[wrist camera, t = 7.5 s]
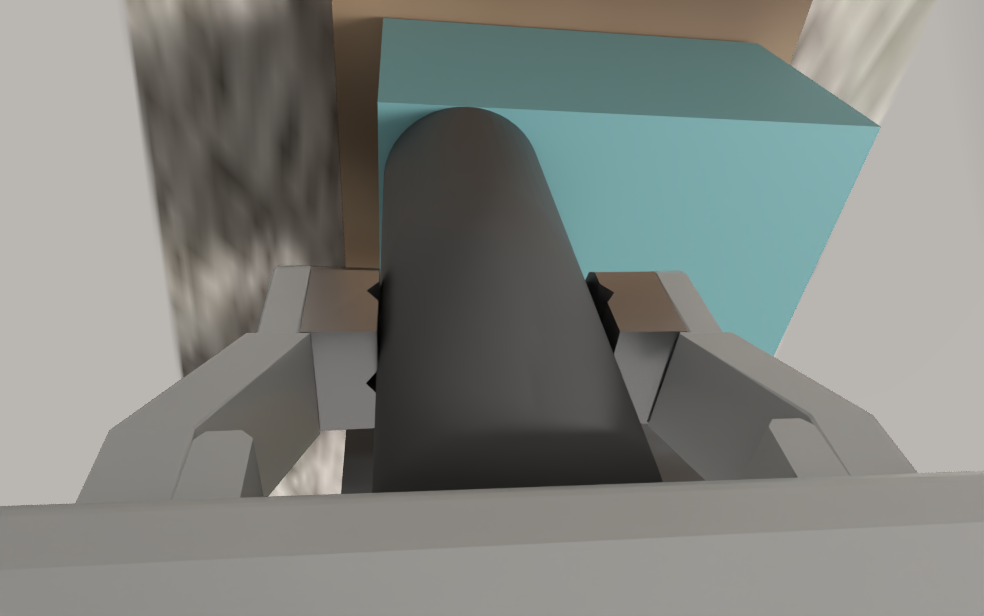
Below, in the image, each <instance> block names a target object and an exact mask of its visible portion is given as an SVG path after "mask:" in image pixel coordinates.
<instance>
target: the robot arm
mask: <svg viewBox="0 0 984 616" xmlns="http://www.w3.org/2000/svg"><path fill="white" fill-rule="evenodd" d="M585 281H586V284H587V287H588V289H589V292H590V294H591V297H592V299H593V302H594V305H595V307H596V310H597V312H598V315H599V317H600V320H601V323H602V325H603V328H604V330H605V333H606V335H607V338H608V341H609V343H610V346H611V348H612V351H613V353H614V356H615V359H616V361H617V364H618V366H619V369H620V371H621V374H622V377H623V379H624V382H625V384H626V387H627V389H628V392H629V395H630V397H631V400H632V402H633V405H634V407H635V410H636V413H637V415H638V418H639V420H640V423H646V424H648V426H649V427H650V428H651V429H652V430H653V431H654V432H655V433H656V434H657V435H658V436H659V437H660V438H661V439H662V440H663V441H664V442H666V443H667V444H668V445H669V446H670V447H671V448H672V449H673V450H674V451H675V452H676V453H677V454H678V455H679V456H680V457H681V458H682V459H683V460H684V461H685V462H687V463H688V464H689V465H690V466H691V467H692V468H693V469H694V470H695V471H696V472H697V473H698V474H699V475H700V476H701V477H702V478H703V479H704V480H705V481H686V482H657V483H628V484H601V485H574V486H547V487H521V488H494V489H467V490H440V491H413V492H385V493H357V494H329V495H301V496H273V497H268V496H269V495H270V493H271V492H272V491H273V490H274V489H275V487H276V486H277V485H278V484H279V483H280V481H281V480H282V479H283V478H284V477H285V475H286V474H287V473H288V472H289V470H290V469H291V468H292V467H293V466H294V464H295V463H296V462H297V461H298V460H299V458H300V457H301V456H302V455H303V454H304V452H305V451H306V450H307V449H308V447H309V446H310V445H311V444H312V443H313V441H314V440H315V439H316V438H317V437H318V435H319V434H320V432H319V431H325V430H345V429H366V428H374V427H375V400H376V373H377V366H378V346H379V314H380V268H359V267H328V266H313V267H311V266H280V265H278V266H277V267H276V268H275V269H274V270H273V274H272V278H271V281H270V285H269V289H268V292H267V296H266V300H265V303H264V307H263V311H262V315H261V318H260V322H259V326H258V329H257V333H246V334H244V335H243V336H241V337H240V338H239V339H237V340H236V341H234V342H233V343H231V344H230V345H229V346H227V347H226V348H224V349H223V350H222V351H220V352H219V353H217V354H216V355H215V356H213V357H212V358H210V359H209V360H208V361H206V362H205V363H203V364H202V365H201V366H199V367H198V368H196V369H195V370H194V371H192V372H191V373H189V374H188V375H187V376H185V377H184V378H182V379H181V380H180V381H178V382H177V383H175V384H174V385H173V386H172V387H170V388H168V389H167V390H165V391H164V392H163V393H161V394H160V395H159V396H157V397H156V398H154V399H153V400H151V401H150V402H149V403H147V404H146V405H144V406H143V407H142V408H140V409H139V410H138V411H136V412H135V413H133V414H132V415H130V416H129V417H128V418H126V419H125V420H123V421H122V422H121V423H119V424H118V425H116V426H115V427H114V428H112V429H111V430H109V432H108V435H107V437H106V439H105V441H104V443H103V445H102V448H101V450H100V452H99V454H98V456H97V458H96V460H95V463H94V465H93V467H92V469H91V471H90V473H89V475H88V477H87V480H86V482H85V484H84V486H83V489H82V490H81V492H80V495H79V497H78V499H77V501H76V503H75V504H49V505H21V506H0V616H984V471H964V472H936V473H917V471H916V470H915V469H914V467H913V466H912V465H911V464H910V462H909V461H908V460H907V458H906V457H905V456H904V454H903V453H902V452H901V451H900V449H899V448H898V447H897V445H896V444H895V443H894V442H893V440H892V439H891V438H890V436H889V435H888V434H887V433H886V431H885V430H884V429H883V428H882V426H881V425H880V423H879V422H878V421H877V420H876V419H875V417H874V416H873V415H872V414H870V413H868V412H867V411H865V410H863V409H862V408H860V407H858V406H856V405H855V404H853V403H851V402H850V401H848V400H846V399H845V398H843V397H841V396H840V395H838V394H836V393H834V392H833V391H831V390H829V389H827V388H826V387H824V386H822V385H821V384H819V383H817V382H815V381H814V380H812V379H811V378H808V377H807V376H805V375H804V374H802V373H800V372H799V371H797V370H795V369H794V368H792V367H790V366H788V365H787V364H785V363H783V362H782V361H780V360H778V359H777V358H775V357H773V356H771V355H770V354H768V353H766V352H765V351H763V350H761V349H759V348H758V347H756V346H754V345H753V344H751V343H749V342H748V341H746V340H744V339H742V338H741V337H739V336H737V335H736V334H734V333H732V332H722V330H721V328H720V327H719V325H718V324H717V322H716V320H715V319H714V317H713V316H712V314H711V312H710V311H709V309H708V308H707V306H706V304H705V303H704V301H703V300H702V298H701V296H700V295H699V293H698V292H697V290H696V288H695V287H694V285H693V284H692V282H691V280H690V279H689V277H688V276H687V274H686V273H684V272H682V271H681V270H673V271H647V272H589V273H588V275H587V277H586V279H585Z"/></svg>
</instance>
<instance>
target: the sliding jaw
mask: <svg viewBox="0 0 984 616" xmlns="http://www.w3.org/2000/svg"><path fill="white" fill-rule="evenodd" d="M880 128H881V127H880V126H879V125H877V124H876V123H874V122H873V121H871V120H870V119H869V118H867V117H866V116H864V115H863V114H861V113H860V112H858V111H857V110H855V109H854V108H852V107H851V106H849V105H848V104H846V103H845V102H843V101H842V100H841V99H839V98H838V97H836V96H835V95H833V94H832V93H830V92H829V91H827V90H826V89H824V88H823V87H821V86H820V85H818V84H817V83H816V82H814V81H813V80H811V79H810V78H808V77H807V76H805V75H804V74H802V73H801V72H799V71H798V70H796V69H795V68H793V67H792V66H791V65H789V64H788V63H786V62H785V61H783V60H782V59H780V58H779V57H777V56H776V55H774V54H773V53H771V52H770V51H768V50H767V49H766V48H764V47H763V46H761V45H760V44H758V43H748V42H733V41H718V40H703V39H688V38H674V37H659V36H644V35H629V34H614V33H600V32H585V31H570V30H555V29H541V28H526V27H511V26H496V25H481V24H467V23H452V22H437V21H422V20H407V19H393V18H383V28H382V43H381V58H380V73H379V88H378V171H379V245H380V314H379V346H378V366H377V373H376V400H375V427H374V454H373V481H372V493H385V492H413V491H440V490H467V489H494V488H521V487H547V486H574V485H601V484H628V483H657V482H662V478H661V475H660V472H659V469H658V467H657V464H656V461H655V459H654V456H653V454H652V451H651V449H650V446H649V443H648V441H647V438H646V436H645V433H644V431H643V428H642V425H641V423H640V420H639V418H638V415H637V413H636V410H635V407H634V405H633V402H632V400H631V397H630V395H629V392H628V389H627V387H626V384H625V382H624V379H623V377H622V374H621V371H620V369H619V366H618V364H617V361H616V359H615V356H614V353H613V351H612V348H611V346H610V343H609V341H608V338H607V335H606V333H605V330H604V328H603V325H602V323H601V320H600V317H599V315H598V312H597V310H596V307H595V305H594V302H593V299H592V297H591V294H590V292H589V289H588V287H587V284H586V281H585V279H586V277H587V275H588V273H589V272H647V271H673V270H681V271H682V272H684V273H686V274H687V276H688V277H689V279H690V280H691V282H692V284H693V285H694V287H695V288H696V290H697V292H698V293H699V295H700V296H701V298H702V300H703V301H704V303H705V304H706V306H707V308H708V309H709V311H710V312H711V314H712V316H713V317H714V319H715V320H716V322H717V324H718V325H719V327H720V328H721V330H722V332H732V333H734V334H736V335H737V336H739V337H741V338H742V339H744V340H746V341H748V342H749V343H751V344H753V345H754V346H756V347H758V348H759V349H761V350H763V351H765V352H766V353H768V354H770V355H771V356H774V354H775V352H776V350H777V348H778V346H779V343H780V341H781V339H782V337H783V335H784V333H785V331H786V329H787V326H788V324H789V322H790V320H791V318H792V316H793V314H794V311H795V309H796V307H797V305H798V303H799V301H800V299H801V296H802V294H803V292H804V290H805V288H806V286H807V284H808V282H809V279H810V277H811V275H812V273H813V271H814V269H815V267H816V264H817V262H818V260H819V258H820V256H821V254H822V252H823V250H824V247H825V245H826V243H827V241H828V239H829V237H830V235H831V232H832V230H833V228H834V226H835V224H836V222H837V220H838V218H839V215H840V213H841V211H842V209H843V207H844V205H845V203H846V200H847V198H848V196H849V194H850V192H851V190H852V188H853V185H854V183H855V181H856V179H857V177H858V175H859V173H860V171H861V168H862V166H863V164H864V162H865V160H866V158H867V156H868V153H869V151H870V149H871V147H872V145H873V143H874V141H875V139H876V136H877V134H878V132H879V130H880Z"/></svg>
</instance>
